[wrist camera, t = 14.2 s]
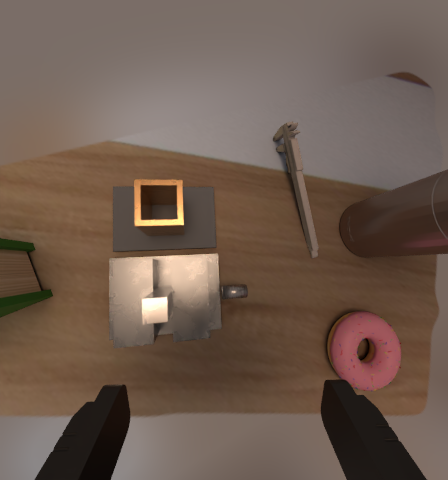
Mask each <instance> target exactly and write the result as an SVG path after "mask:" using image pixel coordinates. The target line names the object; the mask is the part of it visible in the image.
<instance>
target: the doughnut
mask: <svg viewBox="0 0 448 480" xmlns="http://www.w3.org/2000/svg"><path fill="white" fill-rule="evenodd" d="M383 319H384V318H382V317H379V316H377V315H376V314H373V313H370V312H366V311H361V312H351V313H348V314H346V315H344V316H342V317H341V318H340V319H339V320H338V321H337V322H336V323H335V324H334V325H333V327H332V329H331V331H330V334H329V337H328V344H327V349H328V356H329V360H330V362H331V365H332V367H333V368H334V370H335V371H336V373H337V374H338V375H339V377H340V378H341V379H342V380H343V379H344V380H347V381H348V382H349V384H350V385H351V387H354V388H357V389H361V390H364V391H365V390H369V391H370V390H371V391H372V390H374V391H375V390H377V389H380V388H382V387H384V386H386V385H387V384H390V383H391V381H392V380H393V378H394V377H396V376H395V375H396V374H397V372H398V369H399V366H400V362H401V348H400V344H401V343H399V340H398V338H397V336H396V333H395V332H394V330H393V329H392V327H391V326H390V325H389V324H388V323H387V322H386V321H385V320H383ZM364 338H367V339H368V341H369V345H370V348H369V353H368V355H367V356H366V358H364V359H363V360H360V359H358V358H359V357H358V355H357V353H358V352H357V348H358V345H359V344H360V342H361V340H363V339H364ZM400 368H401V367H400Z"/></svg>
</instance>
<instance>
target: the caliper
mask: <svg viewBox="0 0 448 480" xmlns="http://www.w3.org/2000/svg"><path fill="white" fill-rule="evenodd" d="M297 126H298V123H293V122H288V123H286V124H284V125H283V126H281V127H280V128H279V130H278V131H277V133H276V134H275V136H274V137H273V141H277V140H280V139H281V138H283V139H284V144H282V145H280V146H278V147H277V148H276V151H277V152H285V154H286V165H287V168H288V174H291V175H292V180H293V184H294V189H295V193H296V198H297V202H298V207H299V211H300V216H301V221H302V225H303V230H304V235H305V239H306V243H307V246H308V249H309V250H310V254H311V258H315V257H318V252H317V249H319V248H318V243H317V239H316V234H315V229H314V225H313V220H312V215H311V211H310V206H309V201H308V197H307V192H306V187H305V183H304V178H303V173H302V170H303V165H302V160H301V155H300V151H299V146H298V141H297V138H295V135H296V134H298V133H300V131H298V130H296V131H294V130H295V129H296V127H297Z"/></svg>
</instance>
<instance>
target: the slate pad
mask: <svg viewBox="0 0 448 480" xmlns="http://www.w3.org/2000/svg"><path fill="white" fill-rule="evenodd" d="M183 205H184V235H166V236H147V235H146V234H145V233H143V232H142V231H141V230H139V229H138V228H137V227H136V226H135V196H134V187H113V251H114V252H119V251H144V250H169V249H195V248H216V230H215V210H214V189H213V187H183ZM176 219H178V209H177V205H152V220H176Z"/></svg>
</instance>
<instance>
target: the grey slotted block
mask: <svg viewBox="0 0 448 480" xmlns="http://www.w3.org/2000/svg"><path fill="white" fill-rule="evenodd" d="M247 295H248V291H247V286H246V285H231V286H222V298H223V299H233V298H245V297H247ZM213 329H222V326H221V305H220V285H219V265H218V254H200V255H177V256H154V257H132V258H110V264H109V340H113V339H114V348H121V347H131V346H140V345H149V344H154V343H155V340H156V338H157V336H158V335H163V334H173V342H178V341H187V340H197V339H206V338H210V330H213Z"/></svg>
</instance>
